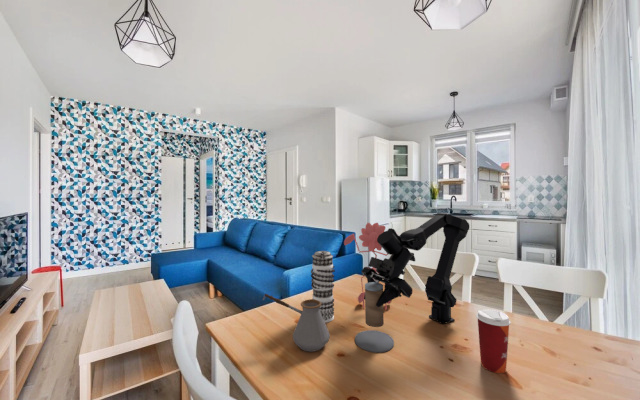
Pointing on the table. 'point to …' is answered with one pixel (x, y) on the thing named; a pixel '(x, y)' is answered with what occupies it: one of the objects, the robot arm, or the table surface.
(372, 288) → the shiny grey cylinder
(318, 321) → the coffee pot
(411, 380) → the table surface
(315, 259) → the decorative candle
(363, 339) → the felt mat
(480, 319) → the paper cup
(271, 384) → the table surface
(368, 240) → the figurine
